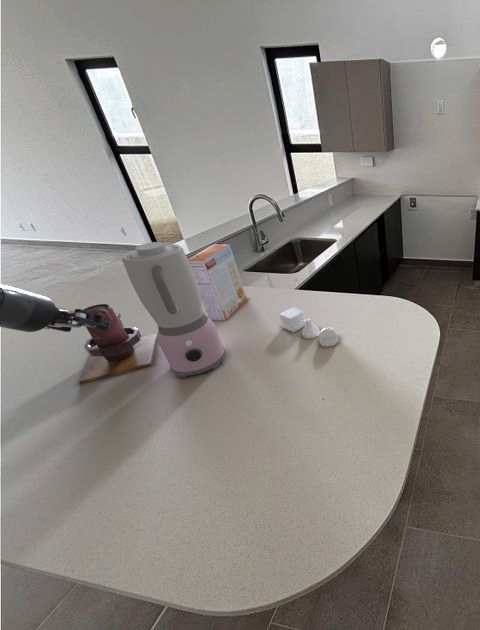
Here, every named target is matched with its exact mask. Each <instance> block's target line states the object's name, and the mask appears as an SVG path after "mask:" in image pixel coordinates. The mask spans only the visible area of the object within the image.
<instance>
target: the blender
mask: <svg viewBox="0 0 480 630" xmlns="http://www.w3.org/2000/svg"><path fill="white" fill-rule="evenodd" d="M188 259H189V258H188V257H187V255H186V252H185V250H184V248H183V247H182V246H181V245H179V244H175V243H165V242H163V241H152V242H146V243H142V244H139V245H137V246H136V247H135V249H133V250H130V251H128V252H125V254H123V255H122V257H121V262H122V263H123V266H124V268H125V271H126V273H127V276H128V278H129V281H130V283H131V285H132V287H133V289H134V291H135V293H136V296H137V297H138V299H139V300H140V302H141V304H142V305H143V306H144V308H145V310H146V311H147V312H148V314H149V315H150V317H151V318H152V320H154V322H155V323H156V325H157V330H158V331H157V334H158V338H157V343H158V345H159V347H160V349H161V351H162V353H163V355H164V357H165V359H166V361H167V362H168V363H167V364H168V365H169V367H170V369H171V371H172V373H173V374H174V375H177V377H179V378H187V377H189V376H194V375H199V374H202V373H203V374H204V373H205V372H208V371H210V370H212V371H213V370H215V369H217V368H219V367H220V366H221V363H222V362H223V361H224V359H225V357H226V355H227V353H226V350H225V347H224V346H223V342H222V340H221V336H220V334H219V332H218V329H217V327H216V325H215V323H214V321H213V320H211V319H210V318H209V316H208V315H206V314H205V312H204V308H203V302H202V299H201V296H200V291H199V287H198V284H197V281H196V278H195V276H194V273H193V270H192V268H191V265H190V263H189V261H188Z"/></svg>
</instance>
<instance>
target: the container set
mask: <svg viewBox="0 0 480 630" xmlns="http://www.w3.org/2000/svg"><path fill="white" fill-rule="evenodd" d="M279 318H280V322H281V326H282V328H283V329H285V330H287V331H289V332H292V333H295V332H297V331H299V330H301V329H302V328H303V329H302V331H301V335H302V338H305V339H314V338H316V337H318V339H319V343H320V345H321V346H322V347H325V348H326V347H332V346H334V345H336V344H337V343H338V342H339V338H338V333H337V331H336V329H334V328H333V327H329V326H326V327H323V328H322V329H320V328H319V327H318V326H317V325H316V324H315V323H313V319H311V318H307V319H306V315H305V312H304V311H303V310H301V309H300V308H297V307H291V308H289V309H286V310H284V311H282V312H280V314H279Z"/></svg>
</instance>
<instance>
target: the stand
mask: <svg viewBox="0 0 480 630" xmlns="http://www.w3.org/2000/svg"><path fill="white" fill-rule="evenodd" d="M115 314H116V316H117V317H118V319H119V321H120V323H121V325H122V327H123V329H124V330H125V332H126V334H127V336H128V339H127V340H126V341H123V342H121V343H119V344H116V345H113V346H109V347H105V348H98V346H97V345H96V343H95V341H94V340H93V338H92V337H90V338H89V339H87V340H86V341H85V343H84V344H83V348H84V349H85V351H86V352H87V354H89V355H90V357H89V359H88V361H87V363H86V366H85V368H84V369H83V372H82V374H81V376H80V377H79V380H78V382H79V384H80V385H82V384H86V383H90V382H94V381H98V380H102V379H105V378H109V377H114V376H118V375H122V374H125V373H129V372H132V371H137V370H140V369H144V368H148V367H151V366H152V365H153V361H154V356H155V351H156V348H157V347H156V346H157V343H158V332H155V333H151V334H147V335H146V334H145V335H142V334H141V332H140V330H139V329H138V328H137V327H135V326H124V324H123V322H122V320H121V316H122V315H121V313H120V312H117V313H116V312H115ZM130 335H131V336H130ZM132 346H133V347H134V352H133V354H132V355H131V356H129V357H127V358H125V359H123V360H119V361H108V360H106V359H105V358H104V356H108V355H112V354H116V353H119V352H122V351H124V350H126V349H129V348H131V347H132Z"/></svg>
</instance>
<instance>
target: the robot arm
mask: <svg viewBox="0 0 480 630" xmlns="http://www.w3.org/2000/svg"><path fill="white" fill-rule="evenodd" d="M103 318H104V315H101V314H97V313H93V312H89V311H85V310H84V309H81V308H75V309H74V310H70V309H67V308H63V307H57V306H56V304H55V303H54V302H53V300H51V299H50V298H49V297H47V296H43V295H40V294H36V293H33V292H30V291H27V290H23V289H20V288H16V287H12V286H9V285H4V284H0V328H4V329H8V330H13V331H18V332H19V331H20V332H24V333H34V332H35V333H36V332H38V331H41V330H49V331H50V330H54V331H60V332H64V333H71V331H72V328H74V329H79V328H81V327H85V328H86V327H91V328H97V329H102V330H108V329H109V326H110V322H109V321H107V320H103ZM73 322H76V323H73Z"/></svg>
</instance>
